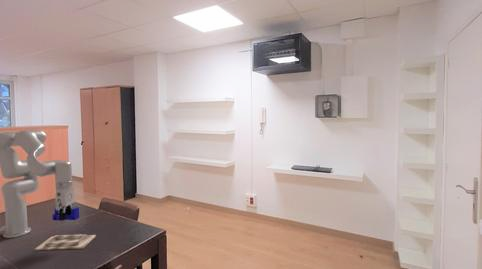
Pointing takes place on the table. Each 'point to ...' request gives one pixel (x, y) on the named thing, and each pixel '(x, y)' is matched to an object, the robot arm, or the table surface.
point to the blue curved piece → (72, 216)
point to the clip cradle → (66, 242)
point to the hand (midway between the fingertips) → (65, 217)
